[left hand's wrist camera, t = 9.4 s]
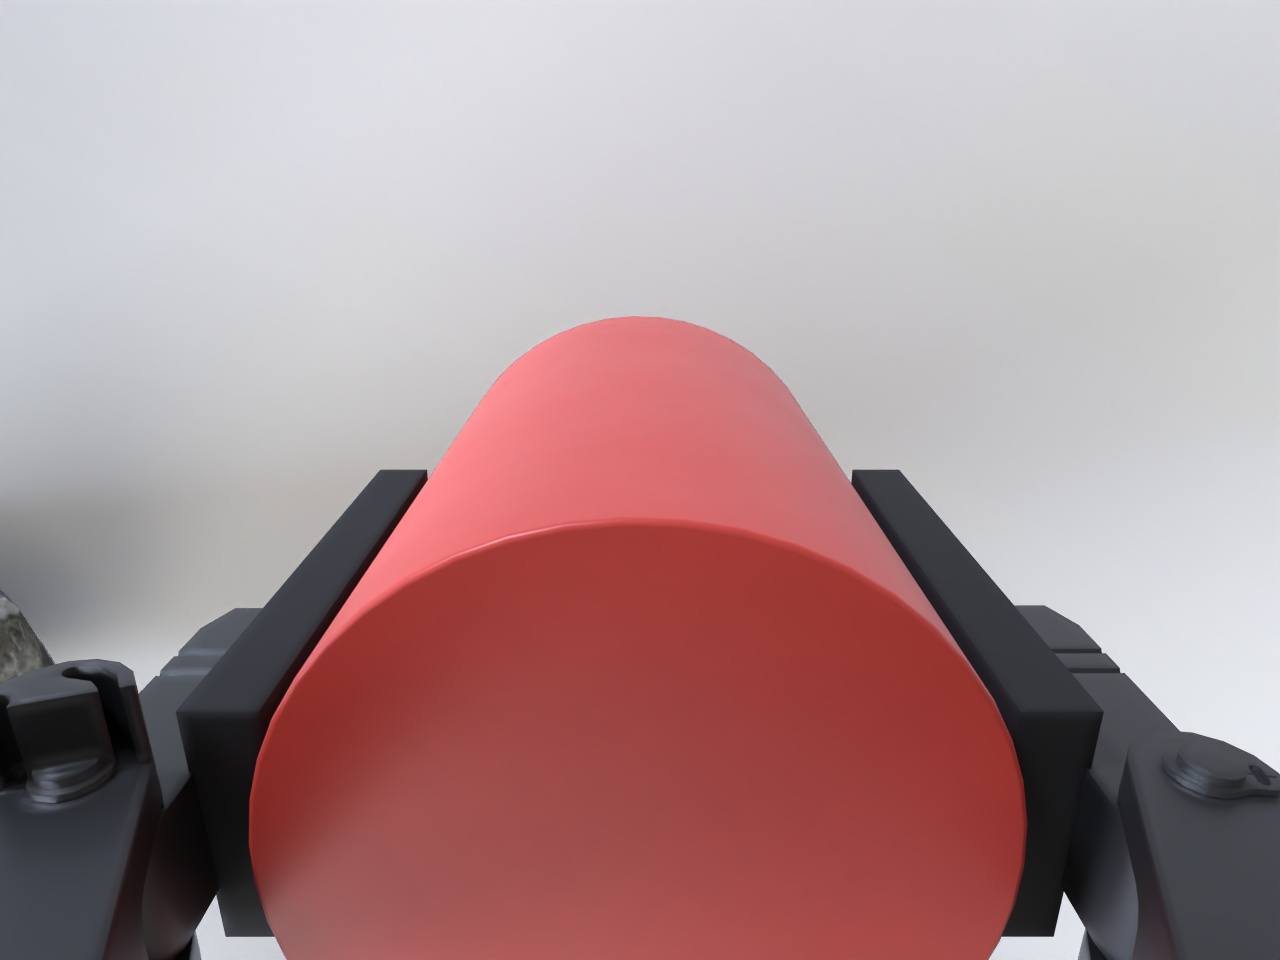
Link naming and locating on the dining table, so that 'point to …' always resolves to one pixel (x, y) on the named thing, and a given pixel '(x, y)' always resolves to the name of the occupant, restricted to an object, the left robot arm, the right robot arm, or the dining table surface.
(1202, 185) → the dining table surface
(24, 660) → the concrete block
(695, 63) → the dining table surface
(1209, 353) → the dining table surface
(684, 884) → the can
